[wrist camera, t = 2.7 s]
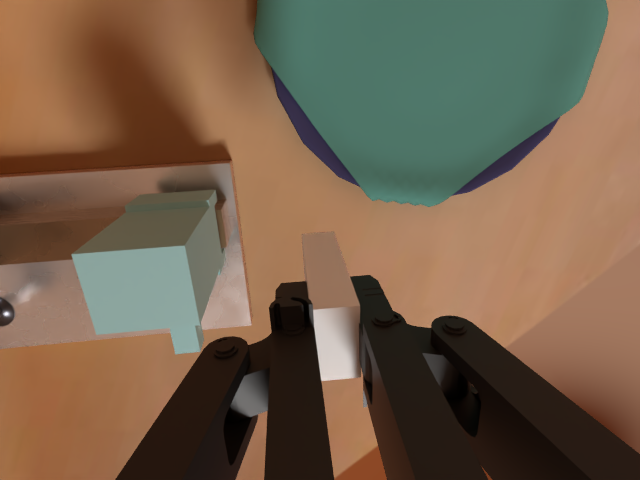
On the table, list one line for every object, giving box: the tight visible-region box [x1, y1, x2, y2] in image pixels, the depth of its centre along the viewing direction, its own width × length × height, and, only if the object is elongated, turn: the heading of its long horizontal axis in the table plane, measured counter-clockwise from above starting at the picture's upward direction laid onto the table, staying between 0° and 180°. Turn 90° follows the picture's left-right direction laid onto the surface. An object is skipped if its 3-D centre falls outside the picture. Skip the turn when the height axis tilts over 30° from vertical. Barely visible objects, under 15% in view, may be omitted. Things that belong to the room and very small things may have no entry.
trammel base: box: [0, 160, 252, 349], centre depth 21 cm, size 20×12×11 cm, turn 93°
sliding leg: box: [71, 190, 226, 354], centre depth 21 cm, size 4×9×9 cm, turn 3°
